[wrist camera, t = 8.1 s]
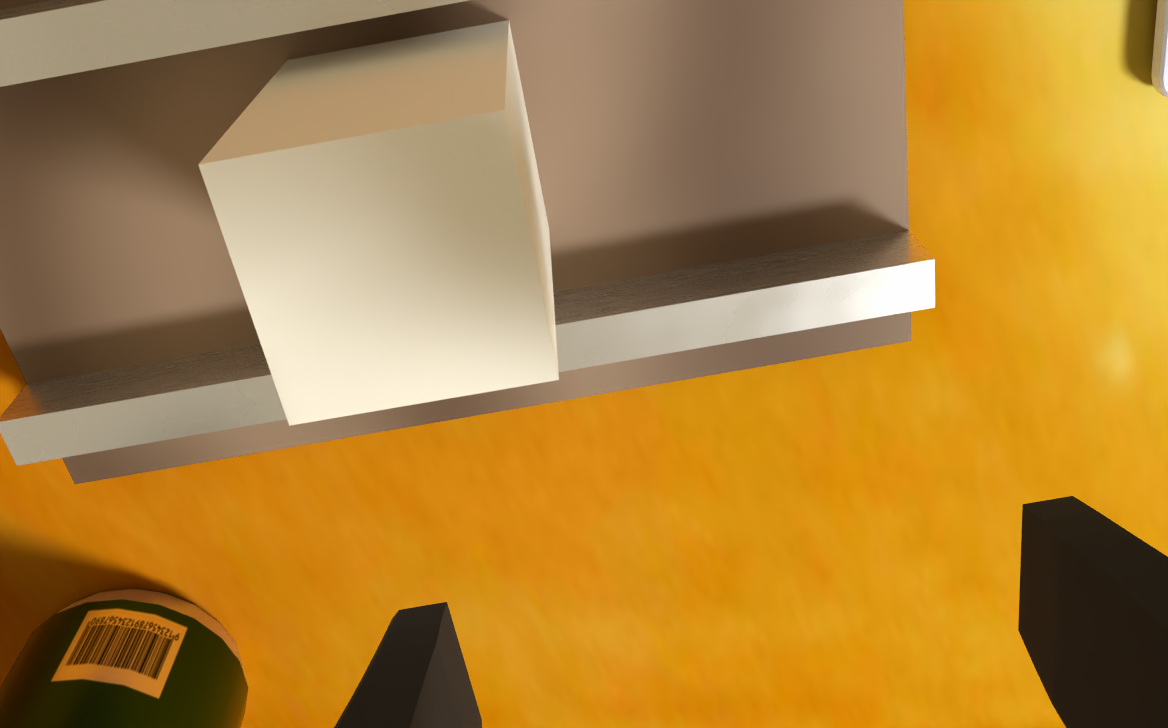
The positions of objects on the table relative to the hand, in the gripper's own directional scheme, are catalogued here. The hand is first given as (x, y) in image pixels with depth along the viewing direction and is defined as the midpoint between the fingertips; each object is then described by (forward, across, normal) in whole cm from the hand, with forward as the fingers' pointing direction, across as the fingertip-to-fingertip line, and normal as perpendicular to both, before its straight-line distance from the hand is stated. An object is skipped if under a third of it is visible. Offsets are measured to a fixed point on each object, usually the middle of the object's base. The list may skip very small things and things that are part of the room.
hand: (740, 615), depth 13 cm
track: (+10, +4, -4) cm, 12 cm away
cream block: (+9, +4, -4) cm, 11 cm away
